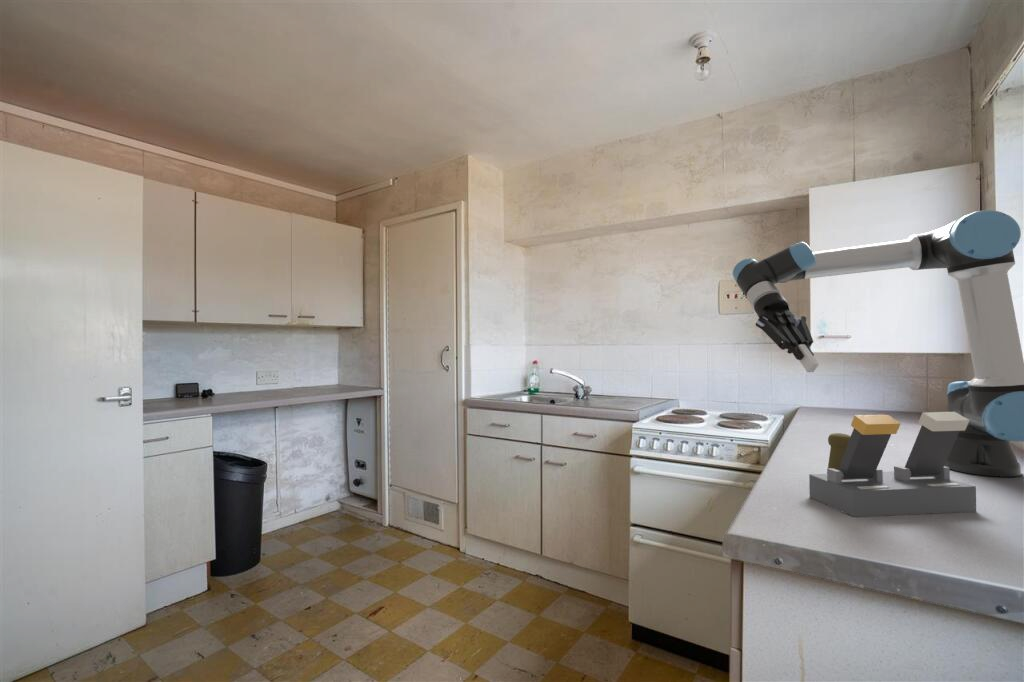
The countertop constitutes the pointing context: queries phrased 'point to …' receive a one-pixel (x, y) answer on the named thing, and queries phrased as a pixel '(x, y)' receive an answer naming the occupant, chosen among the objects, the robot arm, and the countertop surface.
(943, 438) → the cream lever
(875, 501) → the switch block
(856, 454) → the amber lever
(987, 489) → the countertop surface
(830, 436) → the cork
